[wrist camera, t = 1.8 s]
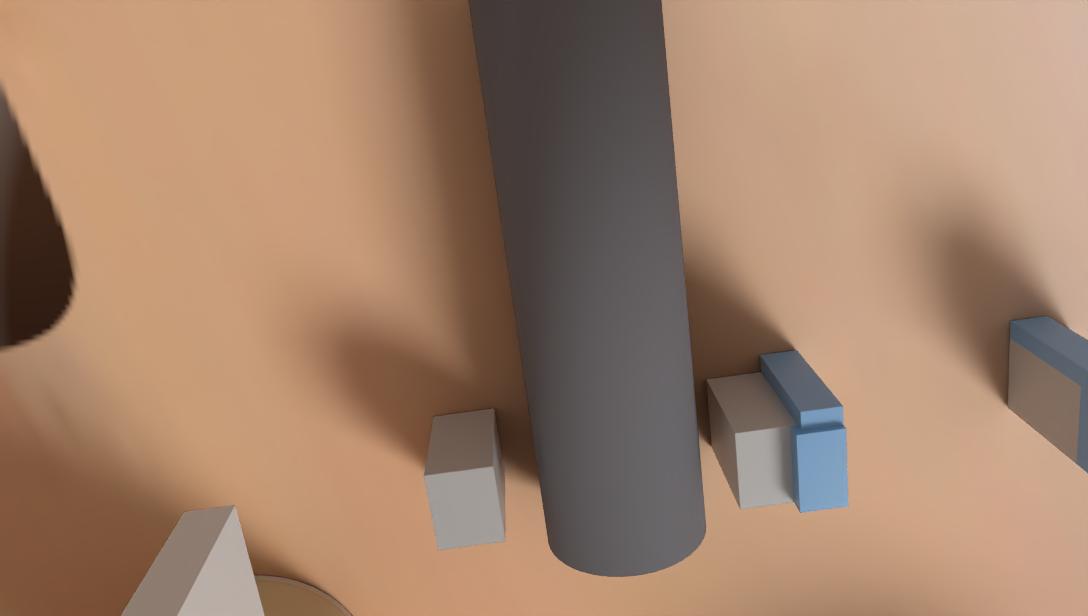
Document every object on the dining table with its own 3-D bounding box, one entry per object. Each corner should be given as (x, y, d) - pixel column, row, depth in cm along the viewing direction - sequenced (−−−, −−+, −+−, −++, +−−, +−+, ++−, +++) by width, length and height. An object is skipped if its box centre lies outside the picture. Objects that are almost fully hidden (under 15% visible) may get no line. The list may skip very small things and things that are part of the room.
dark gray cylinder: (539, 503, 32) (559, 590, 27) (461, -22, 27) (469, -27, 22) (682, 478, 32) (726, 558, 28) (634, -45, 27) (678, -56, 22)
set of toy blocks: (445, 483, 32) (436, 562, 27) (430, 400, 31) (418, 467, 26) (1066, 399, 32) (1156, 464, 27) (1071, 312, 31) (1165, 365, 26)
